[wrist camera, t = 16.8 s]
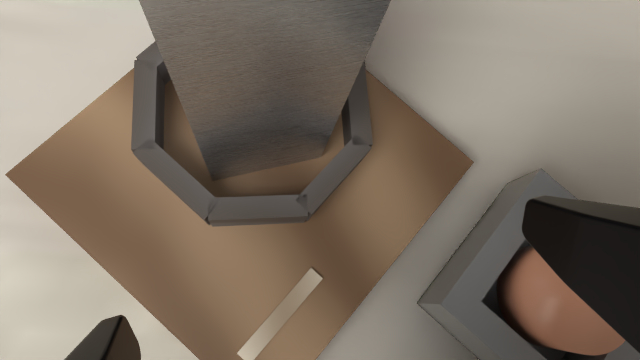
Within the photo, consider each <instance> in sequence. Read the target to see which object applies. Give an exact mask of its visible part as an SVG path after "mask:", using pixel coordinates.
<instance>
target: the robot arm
mask: <svg viewBox="0 0 640 360" xmlns="http://www.w3.org/2000/svg"><path fill="white" fill-rule="evenodd" d="M522 233H523V235H524V237H525V239H526V240H527V241H528V242H529V243H530V245H531V246H532V247H533V248H534V249H535V250H536V251H537V253H538V254H539V255H540V256H541V257H542V258H543V259H544V261H545V262H546V263H547V264H548V265H549V266H550V267H551V269H552V270H553V271H554V272H555V273H556V274H557V275H558V277H559V278H560V279H561V280H562V281H563V282H564V283H565V284H566V285H567V286H568V287H569V288H570V289H571V290H572V291H573V292H574V293H575V294H576V295H578V296H579V297H580V298H581V299H582V300H583V301H584V302H585V303H586V304H587V305H588V306H589V307H590V308H591V309H592V310H594V311H595V312H596V313H597V314H598V315H599V316H600V317H601V318H602V319H603V320H604V321H605V322H606V323H607V324H609V325H610V326H611V327H612V328H613V329H614V330H615V331H616V332H617V333H618V334H619V335H620V336H621V337H622V338H623V339H625V340H626V341H627V342H628V343H629V344H630V345H631V346H632V347H633V348H634V349H635V350H636V351H637V352H638V353H640V208H634V207H627V206H619V205H612V204H605V203H598V202H590V201H583V200H576V199H569V198H562V197H554V196H547V195H542V196H538V197H535V198H531V199H529V200H528V201H527V202H526V205H525V210H524V216H523V221H522ZM64 360H141V353H140V347H139V343H138V341H137V339H136V337H135V335H134V333H133V330H132V328H131V326H130V324H129V322H128V320H127V319H126V317H125V316H123V315H119V316H115V317H112V318H108V319H105V320H102V321H101V322H100V323H99V324H98V325H97V326H96V327H95V328H94V329H93V330H92V331H91V332H90V333H89V334H88V335H87V336H86V337H85V338H84V340H83V341H82V342H81V343H80V344H79V345H78V346H77V347H76V348H75V349H74V350H73V351H72V352H71V353H70V354H69V355H68V356H67V357H66V358H65V359H64Z"/></svg>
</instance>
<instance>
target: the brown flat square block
mask: <svg viewBox="0 0 640 360" xmlns="http://www.w3.org/2000/svg"><path fill="white" fill-rule="evenodd" d="M136 58H137V60H135V62H134V68H133V69H132V70H131V71H130V72H128V73H127V74H126V75H125V76H124V77H122V78H121V79H120V80H119V81H118V82H116V83H115V84H114V85H113V86H112V87H110V88H109V89H108V90H107V91H105V92H104V93H103V94H102V95H101V96H99V97H98V98H97V99H96V100H95V101H93V102H92V103H91V104H90V105H89V106H87V107H86V108H85V109H84V110H83V111H81V112H80V113H79V114H78V115H77V116H75V117H74V118H73V119H72V120H70V121H69V122H68V123H67V124H66V125H64V126H63V127H62V128H61V129H60V130H58V131H57V132H56V133H55V134H54V135H52V136H51V137H50V138H49V139H48V140H46V141H45V142H44V143H43V144H42V145H40V146H39V147H38V148H37V149H35V150H34V151H33V152H32V153H31V154H29V155H28V156H27V157H26V158H25V159H23V160H22V161H21V162H20V163H19V164H17V165H16V166H15V167H14V168H13V169H11V170H10V171H9V172H8V173H7V174H5V175H6V176H7V177H8V178H9V179H10V180H11V181H12V182H13V183H15V184H16V185H17V186H18V187H19V188H20V189H21V190H22V191H23V192H24V193H25V194H26V195H27V196H28V197H29V198H30V199H31V200H32V201H33V202H34V203H36V204H37V205H38V206H39V207H40V208H41V209H42V210H43V211H44V212H45V213H46V214H47V215H48V216H49V217H50V218H51V219H52V220H53V221H54V222H56V223H57V224H58V225H59V226H60V227H61V228H62V229H63V230H64V231H65V232H66V233H67V234H68V235H69V236H70V237H71V238H72V239H73V240H74V241H75V242H77V243H78V244H79V245H80V246H81V247H82V248H83V249H84V250H85V251H86V252H87V253H88V254H89V255H90V256H91V257H92V258H93V259H94V260H95V261H97V262H98V263H99V264H100V265H101V266H102V267H103V268H104V269H105V270H106V271H107V272H108V273H109V274H110V275H111V276H112V277H113V278H114V279H115V280H116V281H118V282H119V283H120V284H121V285H122V286H123V287H124V288H125V289H126V290H127V291H128V292H129V293H130V294H131V295H132V296H133V297H134V298H135V299H136V300H138V301H139V302H140V303H141V304H142V305H143V306H144V307H145V308H146V309H147V310H148V311H149V312H150V313H151V314H152V315H153V316H154V317H155V318H156V319H157V320H159V321H160V322H161V323H162V324H163V325H164V326H165V327H166V328H167V329H168V330H169V331H170V332H171V333H172V334H173V335H174V336H175V337H176V338H177V339H179V340H180V341H181V342H182V343H183V344H184V345H185V346H186V347H187V348H188V349H189V350H190V351H191V352H192V353H193V354H194V355H195V356H196V357H197V358H198V359H200V360H316V358H317V357H318V356H319V355H320V353H321V352H322V351H323V350H324V348H325V347H326V346H327V345H328V343H329V342H330V341H331V340H332V338H333V337H334V336H335V335H336V333H337V332H338V331H339V330H340V328H341V327H342V326H343V325H344V323H345V322H346V321H347V320H348V318H349V317H350V316H351V315H352V313H353V312H354V311H355V310H356V308H357V307H358V306H359V305H360V303H361V302H362V301H363V300H364V298H365V297H366V296H367V295H368V293H369V292H370V291H371V290H372V289H373V287H374V286H375V285H376V284H377V282H378V281H379V280H380V279H381V277H382V276H383V275H384V274H385V272H386V271H387V270H388V269H389V267H390V266H391V265H392V264H393V262H394V261H395V260H396V259H397V257H398V256H399V255H400V254H401V252H402V251H403V250H404V249H405V247H406V246H407V245H408V244H409V242H410V241H411V240H412V239H413V237H414V236H415V235H416V234H417V232H418V231H419V230H420V229H421V227H422V226H423V225H424V224H425V222H426V221H427V220H428V219H429V217H430V216H431V215H432V214H433V213H434V211H435V210H436V209H437V208H438V206H439V205H440V204H441V203H442V201H443V200H444V199H445V198H446V196H447V195H448V194H449V193H450V191H451V190H452V189H453V188H454V186H455V185H456V184H457V183H458V181H459V180H460V179H461V178H462V176H463V175H464V174H465V173H466V171H467V170H468V169H469V168H470V166H471V165H472V164H473V163H474V162H473V161H472V160H471V159H470V158H468V157H467V156H466V155H465V154H464V153H463V152H461V151H460V150H459V149H458V148H457V147H456V146H454V145H453V144H452V143H451V142H450V141H449V140H447V139H446V138H445V137H444V136H443V135H442V134H440V133H439V132H438V131H437V130H436V129H435V128H433V127H432V126H431V125H430V124H429V123H428V122H426V121H425V120H424V119H423V118H422V117H421V116H419V115H418V114H417V113H416V112H415V111H414V110H412V109H411V108H410V107H409V106H408V105H407V104H405V103H404V102H403V101H402V100H401V99H400V98H398V97H397V96H396V95H395V94H394V93H393V92H391V91H390V90H389V89H388V88H387V87H386V86H384V85H383V84H382V83H381V82H380V81H379V80H377V79H376V78H375V77H374V76H373V75H372V74H370V73H369V72H368V71H367V70H366V69H365V62H363V64H362V66H361V68H360V70H359V73H358V75H357V77H356V79H355V82H354V84H353V86H352V88H351V91H350V93H349V95H348V97H347V100H346V102H345V104H344V106H343V109H342V111H341V113H340V115H339V118H338V120H337V122H336V124H335V126H334V129H333V131H332V133H331V135H330V138H329V140H328V142H327V144H326V147H325V149H324V151H323V153H322V156H321V158H316V159H311V160H307V161H302V162H298V163H293V164H289V165H284V166H280V167H275V168H270V169H266V170H261V171H257V172H252V173H248V174H243V175H239V176H234V177H229V178H225V179H220V180H216V181H212V178H211V176H210V173H209V171H208V168H207V166H206V163H205V161H204V159H203V156H202V154H201V151H200V149H199V146H198V144H197V141H196V139H195V136H194V134H193V132H192V129H191V127H190V124H189V122H188V119H187V117H186V114H185V112H184V109H183V107H182V105H181V102H180V100H179V97H178V95H177V92H176V90H175V87H174V85H173V82H172V80H171V77H170V75H169V73H168V70H167V68H166V65H165V63H164V60H163V58H162V55H161V53H160V50H159V48H158V46H157V43H156V41H155V42H154V43H153V44H152V45H150V46H149V47H148V48H147V49H145V50H144V51H143V52H142V53H141V54H139V55H138V56H137V57H136Z"/></svg>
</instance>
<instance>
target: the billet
mask: <svg viewBox="0 0 640 360" xmlns="http://www.w3.org/2000/svg"><path fill="white" fill-rule="evenodd" d="M139 1H140V4H141V6H142V9H143V11H144V14H145V16H146V19H147V21H148V23H149V26H150V28H151V31H152V33H153V36H154V38H155V41H156V43H157V46H158V48H159V50H160V53H161V55H162V58H163V60H164V63H165V65H166V68H167V70H168V73H169V75H170V77H171V80H172V82H173V85H174V87H175V90H176V92H177V95H178V97H179V100H180V102H181V105H182V107H183V109H184V112H185V114H186V117H187V119H188V122H189V124H190V127H191V129H192V132H193V134H194V136H195V139H196V141H197V144H198V146H199V149H200V151H201V154H202V156H203V159H204V161H205V163H206V166H207V168H208V171H209V173H210V176H211V178H212V181H216V180H220V179H225V178H229V177H234V176H239V175H243V174H248V173H252V172H257V171H261V170H266V169H270V168H275V167H280V166H284V165H289V164H293V163H298V162H302V161H307V160H311V159H316V158H321V156H322V153H323V151H324V149H325V147H326V144H327V142H328V140H329V138H330V135H331V133H332V131H333V129H334V126H335V124H336V122H337V120H338V118H339V115H340V113H341V111H342V109H343V106H344V104H345V102H346V100H347V97H348V95H349V93H350V91H351V88H352V86H353V84H354V82H355V79H356V77H357V75H358V73H359V70H360V68H361V66H362V64H363V62H364V59H365V57H366V55H367V53H368V50H369V48H370V46H371V44H372V41H373V39H374V37H375V35H376V32H377V30H378V28H379V26H380V23H381V21H382V19H383V17H384V14H385V12H386V10H387V8H388V6H389V3H390V1H391V0H139Z"/></svg>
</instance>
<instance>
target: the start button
mask: <svg viewBox="0 0 640 360" xmlns="http://www.w3.org/2000/svg"><path fill="white" fill-rule="evenodd" d="M497 299H498V304H499V307H500V310H501V313H502V315H503V317H504V319H505V320H506V322H507V324H508V325H509V326H510V327H511V328H512V329H513V330H514V331H515V332H516V333H517V334H518V335H520V336H521V337H522V338H523V339H524V340H525V341H527V342H529V343H531V344H533V345H537V346H540V347H545V348H551V349H556V350H562V351H567V352H573V353H578V354H584V355H602V354H606V353H609V352H611V351H613V350H615V349H617V348H618V347H619V346H621V345H622V344H623V343H624V342H625V341H626V340H625V339H623V338H622V337H621V336H620V335H619V334H618V333H617V332H616V331H615V330H614V329H613V328H612V327H611V326H610V325H609V324H607V323H606V322H605V321H604V320H603V319H602V318H601V317H600V316H599V315H598V314H597V313H596V312H595V311H594V310H592V309H591V308H590V307H589V306H588V305H587V304H586V303H585V302H584V301H583V300H582V299H581V298H580V297H579V296H578V295H576V294H575V293H574V292H573V291H572V290H571V289H570V288H569V287H568V286H567V285H566V284H565V283H564V282H563V281H562V280H561V279H560V278H559V277H558V275H557V274H556V273H555V272H554V271H553V270H552V269H551V267H550V266H549V265H548V264H547V263H546V262H545V261H544V259H543V258H542V257H541V256H540V255H539V254H538V253H537V251H536V250H535V249H534V248H533V247H532V246H528V247H524V248H522V249H519V250H517V251H516V253H515V254H514V255H513V257H512V258H511V260H510V261H509V263H508V264H507V265H506V267H505V268H504V270H503V271H502V272H501V274H500V275H499V277H498V281H497Z"/></svg>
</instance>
